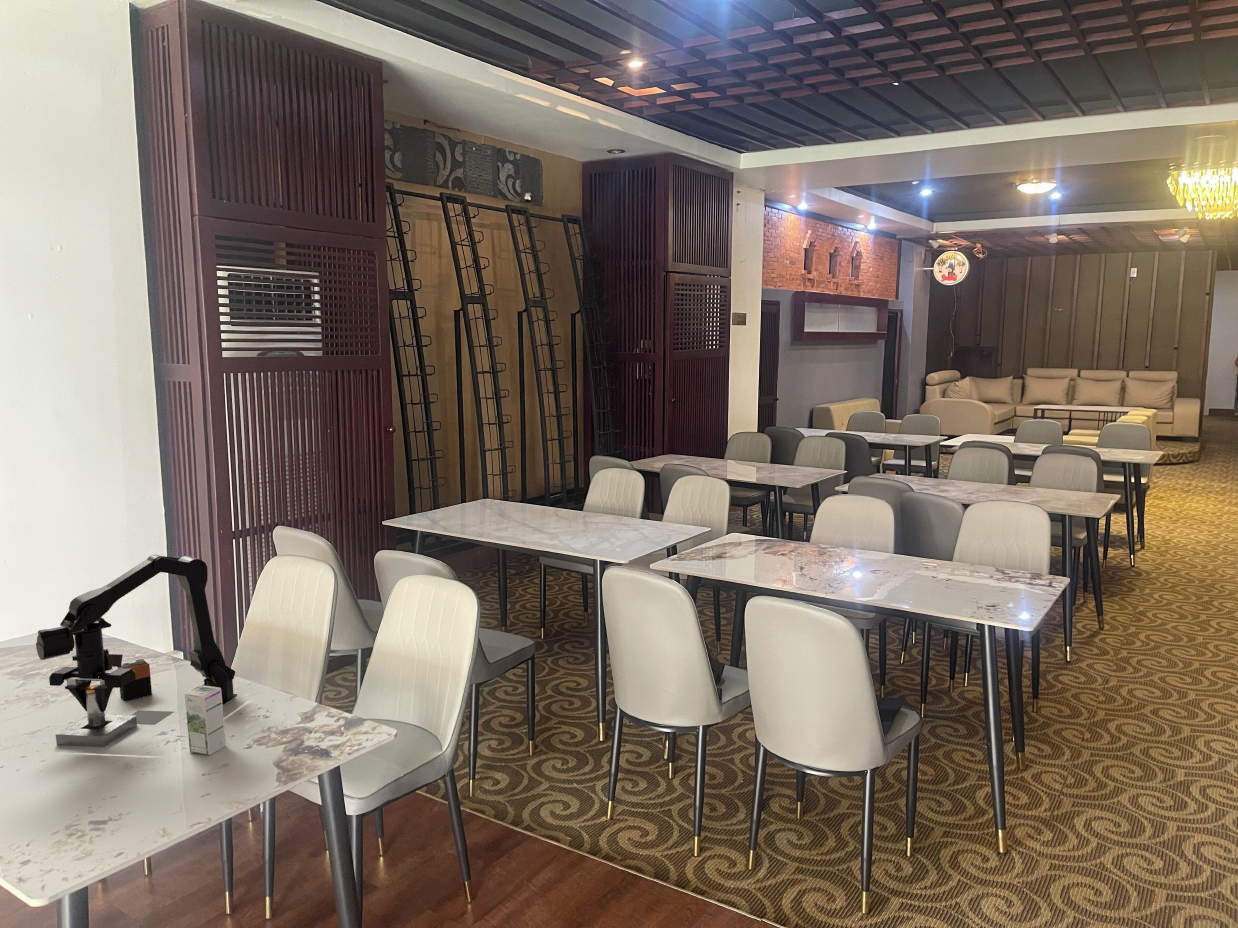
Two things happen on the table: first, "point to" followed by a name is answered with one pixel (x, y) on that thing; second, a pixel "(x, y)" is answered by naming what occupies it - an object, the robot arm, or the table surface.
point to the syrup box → (205, 720)
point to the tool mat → (150, 716)
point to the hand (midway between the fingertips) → (95, 710)
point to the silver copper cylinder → (93, 707)
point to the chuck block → (96, 731)
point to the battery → (137, 681)
